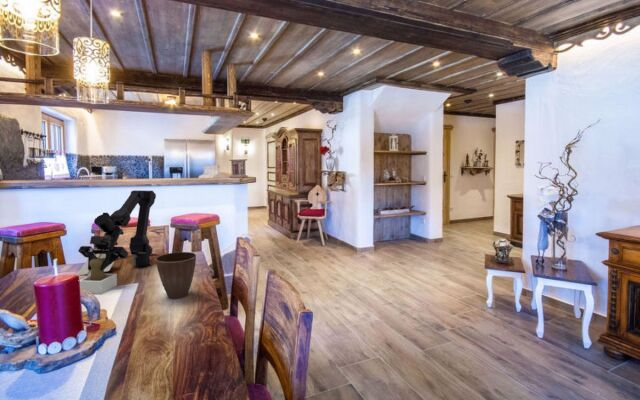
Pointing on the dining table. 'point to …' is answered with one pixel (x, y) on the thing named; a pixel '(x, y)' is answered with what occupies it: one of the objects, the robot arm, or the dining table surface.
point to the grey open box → (99, 284)
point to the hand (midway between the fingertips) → (95, 270)
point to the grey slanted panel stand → (85, 270)
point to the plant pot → (176, 273)
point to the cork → (96, 269)
